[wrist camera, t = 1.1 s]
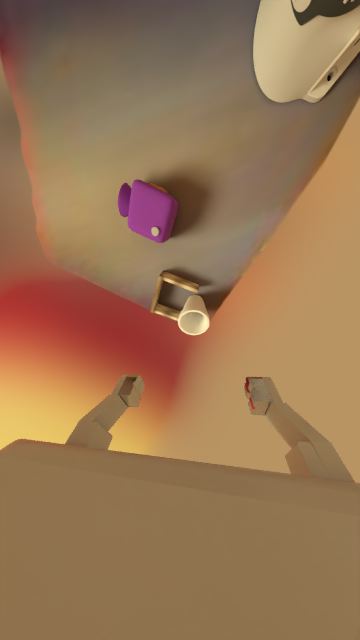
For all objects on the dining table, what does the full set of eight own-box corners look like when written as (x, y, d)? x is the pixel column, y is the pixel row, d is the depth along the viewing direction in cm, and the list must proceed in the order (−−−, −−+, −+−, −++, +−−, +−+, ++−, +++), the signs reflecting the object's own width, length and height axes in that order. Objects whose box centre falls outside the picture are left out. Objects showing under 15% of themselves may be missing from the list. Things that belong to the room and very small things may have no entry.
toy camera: (127, 180, 34) (104, 167, 26) (181, 192, 34) (175, 183, 26) (129, 231, 40) (111, 233, 32) (174, 241, 40) (168, 246, 32)
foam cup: (186, 314, 55) (182, 336, 44) (179, 294, 50) (173, 313, 39) (209, 310, 52) (212, 332, 42) (205, 288, 47) (206, 307, 37)
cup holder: (198, 284, 47) (198, 291, 42) (184, 315, 55) (183, 323, 50) (163, 270, 45) (159, 276, 41) (154, 304, 54) (150, 311, 49)
